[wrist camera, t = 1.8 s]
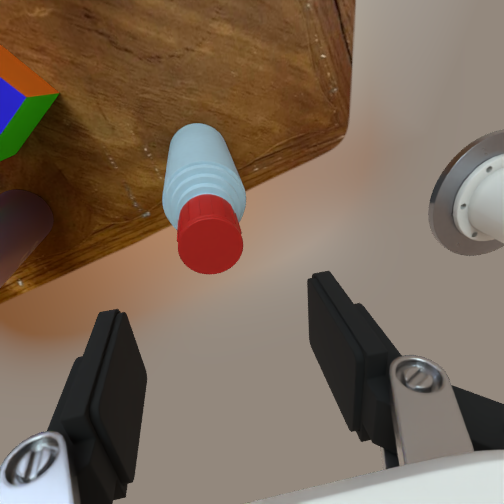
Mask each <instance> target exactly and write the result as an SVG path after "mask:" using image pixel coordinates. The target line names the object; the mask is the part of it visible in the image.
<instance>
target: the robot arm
mask: <svg viewBox="0 0 504 504" xmlns="http://www.w3.org/2000/svg"><path fill="white" fill-rule="evenodd" d="M453 218H454V223H455V225H456V227H457V229H458V230H459V231H460V233H462V234H463V235H465V236H466V237H468V238H470V239H472V240H476V241H489V240H494V239H496V240H498V241H500V242H502V243H504V154H501V155H498V156H495V157H493V158H491V159H489V160H487V161H485V162H484V163H482V164H481V165H480V166H478V167H477V168H476V169H475V170H474V171H473V172H472V173H471V174H470V175H469V176H468V177H467V179H466V180H465V181H464V182H463V184H462V186H461V187H460V189H459V191H458V193H457V196H456V198H455V202H454V206H453ZM307 282H308V283H307V285H308V316H309V340H310V345H311V348H312V350H313V352H314V354H315V356H316V358H317V361H318V363H319V365H320V367H321V369H322V371H323V374H324V376H325V378H326V380H327V382H328V385H329V387H330V389H331V391H332V393H333V396H334V398H335V400H336V402H337V404H338V406H339V409H340V411H341V413H342V415H343V417H344V419H345V422H346V424H347V425H348V428H349V430H350V431H351V432H352V431H356V432H357V434H358V436H359V439H360V440H361V442H363V441H367V440H372V442H373V443H374V444H376V445H378V446H380V447H381V455H382V463H383V470H381V471H377V472H373V473H369V474H365V475H360V476H356V477H352V478H348V479H344V480H340V481H335V482H331V483H328V484H323V485H319V486H314V487H311V488H306V489H302V490H298V491H294V492H290V493H286V494H282V495H277V496H274V497H269V498H265V499H261V500H257V501H253V502H249V503H245V504H504V404H502V403H499V402H496V401H493V400H491V399H488V398H485V397H483V396H480V395H477V394H474V393H472V392H469V391H466V390H463V389H461V388H458V387H455V386H452V385H451V383H450V380H449V377H448V376H447V374H446V372H445V371H444V370H443V369H442V368H441V367H440V366H439V365H438V364H437V363H435V362H433V361H432V360H430V359H427V358H425V357H422V356H416V355H405V356H402V355H401V354H400V353H399V352H398V350H397V349H396V348H395V346H394V345H393V344H392V343H391V341H390V340H389V339H388V337H387V336H386V335H385V333H384V332H383V331H382V329H381V328H380V327H379V326H378V324H377V323H376V322H375V320H374V319H373V318H372V316H371V315H370V314H369V313H368V311H367V310H366V309H365V307H364V306H363V305H362V304H360V303H357V304H353V302H352V301H351V300H350V298H349V297H348V296H347V294H346V293H345V292H344V290H343V289H342V288H341V286H340V285H339V283H338V282H337V281H336V279H335V278H334V276H333V275H332V274H331V272H329V271H325V272H320V273H314V274H313V275H312V278H310V279H308V281H307ZM146 384H147V374H146V370H145V366H144V363H143V361H142V358H141V355H140V352H139V349H138V346H137V343H136V340H135V338H134V334H133V331H132V329H131V326H130V323H129V320H128V317H127V314H126V313H125V312H123V313H120V311H119V310H118V309H115V310H109V311H103V312H100V313H99V314H98V317H97V319H96V322H95V325H94V328H93V330H92V333H91V336H90V338H89V341H88V344H87V347H86V349H85V352H84V354H83V356H82V357H78V358H77V359H76V360H75V362H74V364H73V366H72V369H71V371H70V374H69V376H68V379H67V381H66V384H65V387H64V389H63V392H62V394H61V397H60V399H59V402H58V404H57V407H56V409H55V412H54V414H53V417H52V420H51V422H50V425H49V427H48V430H47V431H46V432H41V433H38V434H35V435H33V436H31V437H29V438H27V439H26V440H24V441H22V442H21V443H20V444H19V445H18V446H16V447H15V448H14V449H13V450H12V451H11V452H10V453H9V455H8V456H7V457H6V458H5V460H4V461H3V463H2V465H1V467H0V504H112V503H113V500H116V499H120V498H125V497H126V490H127V484H128V483H132V482H133V480H134V475H135V468H136V460H137V453H138V445H139V438H140V429H141V422H142V414H143V407H144V399H145V392H146Z"/></svg>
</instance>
